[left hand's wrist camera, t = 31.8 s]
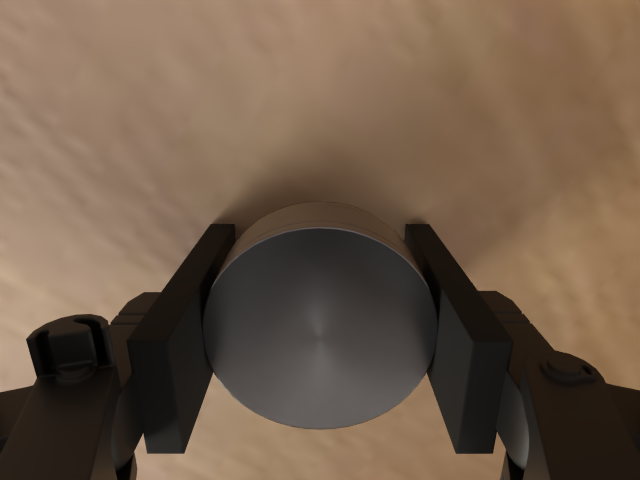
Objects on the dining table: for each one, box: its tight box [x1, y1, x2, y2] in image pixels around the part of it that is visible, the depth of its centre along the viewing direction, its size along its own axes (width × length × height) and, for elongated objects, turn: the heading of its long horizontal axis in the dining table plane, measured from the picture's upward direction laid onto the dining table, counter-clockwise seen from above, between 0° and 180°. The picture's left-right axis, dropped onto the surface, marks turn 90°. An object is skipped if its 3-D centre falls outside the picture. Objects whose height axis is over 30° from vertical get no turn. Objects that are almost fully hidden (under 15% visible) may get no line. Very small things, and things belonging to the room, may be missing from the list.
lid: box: [202, 202, 438, 429], centre depth 11 cm, size 6×6×2 cm
